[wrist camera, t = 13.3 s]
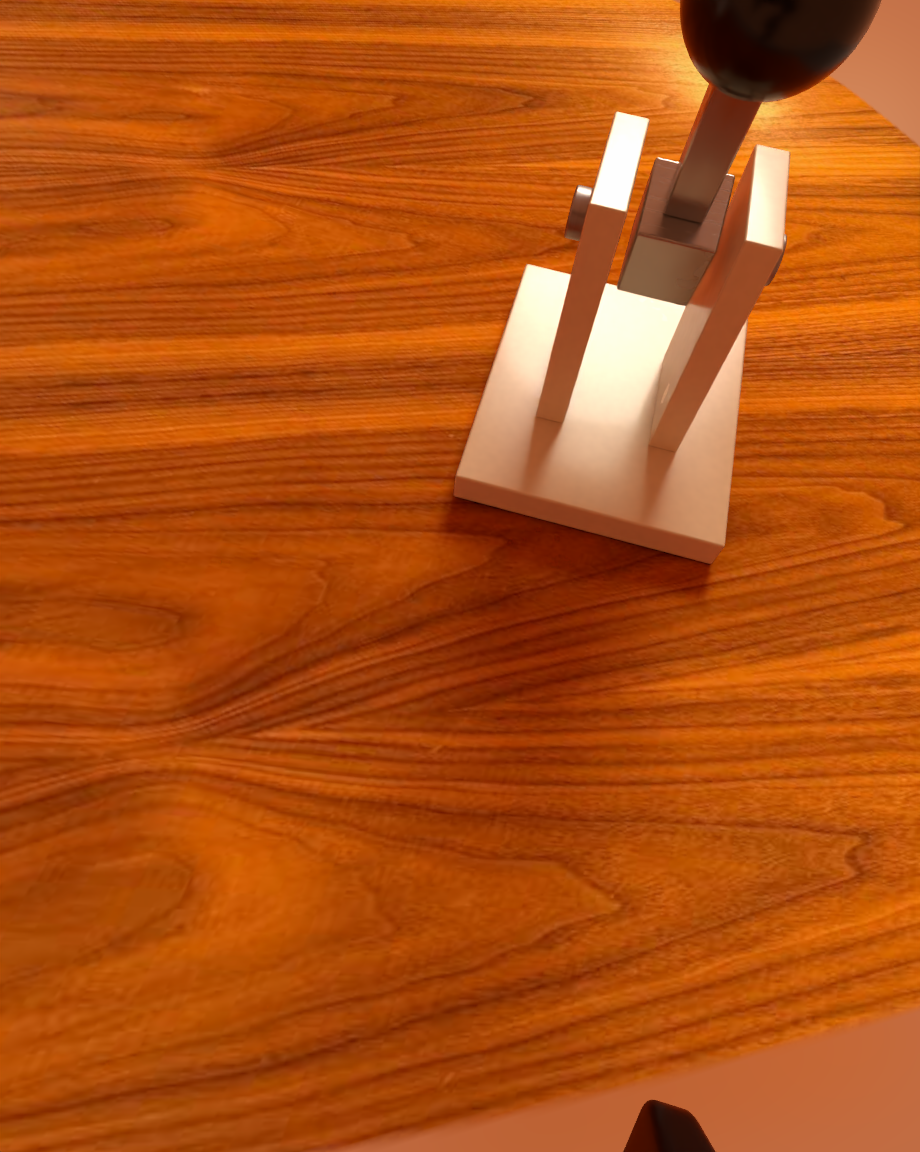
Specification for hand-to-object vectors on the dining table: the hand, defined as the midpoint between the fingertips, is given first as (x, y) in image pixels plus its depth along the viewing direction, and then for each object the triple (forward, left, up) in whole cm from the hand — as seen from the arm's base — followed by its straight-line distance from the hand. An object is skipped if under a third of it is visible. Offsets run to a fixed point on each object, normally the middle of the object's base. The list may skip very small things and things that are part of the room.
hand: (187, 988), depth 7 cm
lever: (+13, -12, -2) cm, 18 cm away
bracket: (+16, -13, -13) cm, 24 cm away
